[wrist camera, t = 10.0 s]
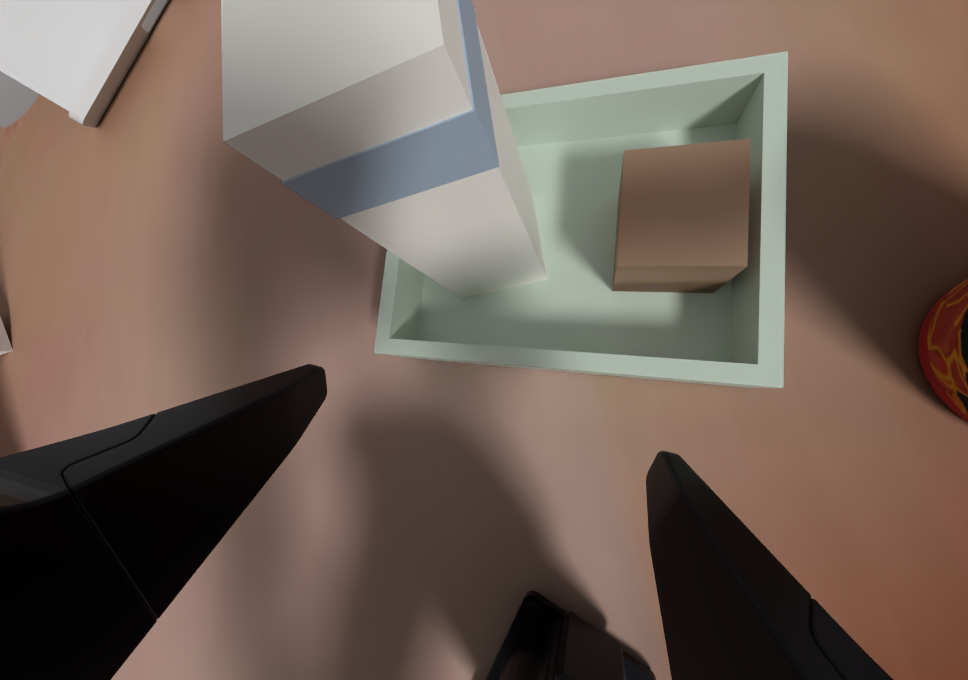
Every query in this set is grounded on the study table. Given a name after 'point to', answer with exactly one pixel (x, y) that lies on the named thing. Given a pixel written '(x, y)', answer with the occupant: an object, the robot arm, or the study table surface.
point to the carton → (386, 129)
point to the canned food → (947, 348)
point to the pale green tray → (592, 235)
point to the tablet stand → (74, 48)
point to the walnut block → (682, 217)
